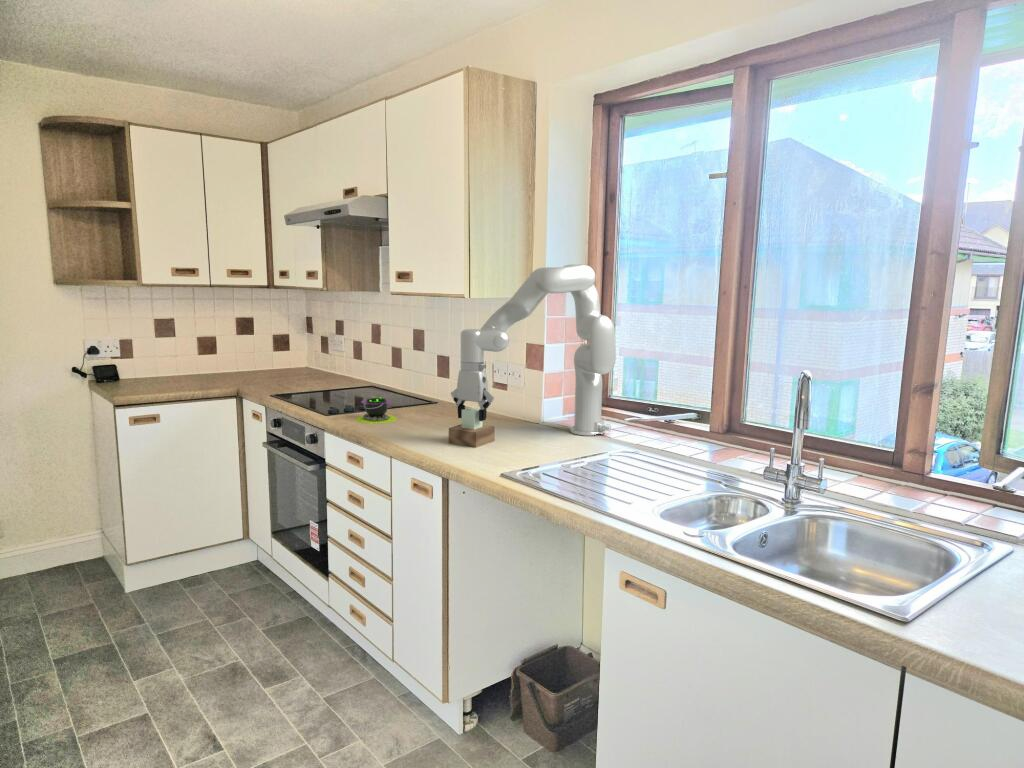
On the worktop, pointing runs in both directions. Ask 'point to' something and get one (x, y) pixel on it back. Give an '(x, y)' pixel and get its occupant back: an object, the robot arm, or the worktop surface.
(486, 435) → the block
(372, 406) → the toy cauldron
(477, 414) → the sage block
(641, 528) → the worktop surface
